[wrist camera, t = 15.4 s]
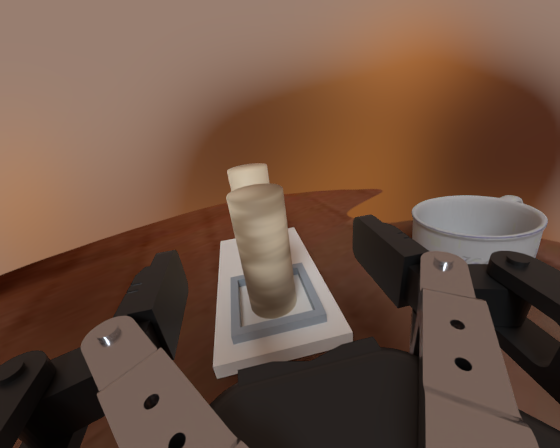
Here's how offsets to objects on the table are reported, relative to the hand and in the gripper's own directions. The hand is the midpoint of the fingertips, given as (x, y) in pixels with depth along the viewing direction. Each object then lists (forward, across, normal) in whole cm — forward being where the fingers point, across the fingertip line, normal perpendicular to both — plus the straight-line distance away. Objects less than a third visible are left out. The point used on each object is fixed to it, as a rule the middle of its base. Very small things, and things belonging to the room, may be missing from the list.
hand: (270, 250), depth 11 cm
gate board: (+16, 0, +14) cm, 21 cm away
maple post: (+11, 0, +13) cm, 17 cm away
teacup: (+10, -23, +14) cm, 29 cm away
